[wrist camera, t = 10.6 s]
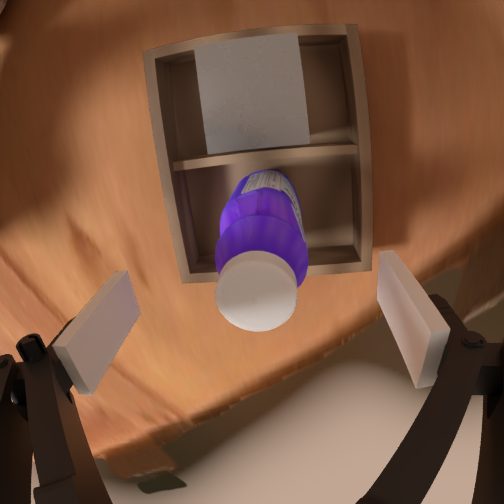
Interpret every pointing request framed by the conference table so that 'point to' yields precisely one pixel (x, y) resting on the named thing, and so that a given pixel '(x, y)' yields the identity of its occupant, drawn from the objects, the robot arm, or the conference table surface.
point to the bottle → (260, 252)
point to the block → (252, 93)
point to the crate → (269, 153)
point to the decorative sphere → (2, 5)
